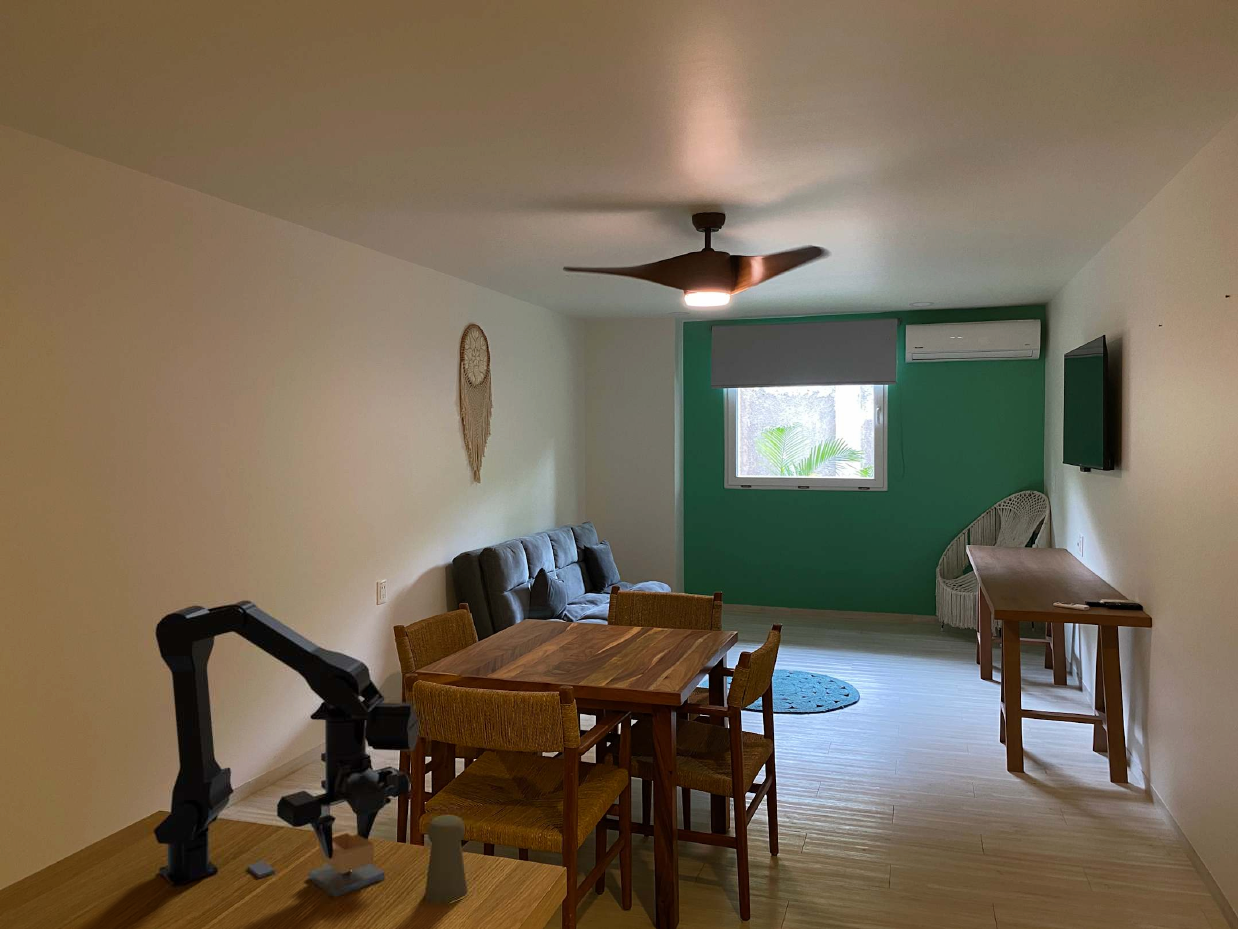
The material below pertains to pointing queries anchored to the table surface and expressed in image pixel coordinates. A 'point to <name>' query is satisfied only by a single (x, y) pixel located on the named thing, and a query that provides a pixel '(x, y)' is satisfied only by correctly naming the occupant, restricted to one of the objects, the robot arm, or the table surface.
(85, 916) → the table surface
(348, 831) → the link
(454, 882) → the olive game pawn
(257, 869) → the grey rectangular block
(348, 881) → the plate
